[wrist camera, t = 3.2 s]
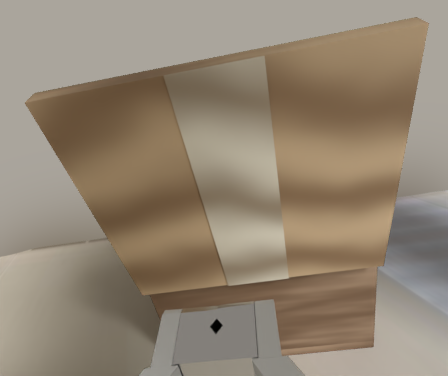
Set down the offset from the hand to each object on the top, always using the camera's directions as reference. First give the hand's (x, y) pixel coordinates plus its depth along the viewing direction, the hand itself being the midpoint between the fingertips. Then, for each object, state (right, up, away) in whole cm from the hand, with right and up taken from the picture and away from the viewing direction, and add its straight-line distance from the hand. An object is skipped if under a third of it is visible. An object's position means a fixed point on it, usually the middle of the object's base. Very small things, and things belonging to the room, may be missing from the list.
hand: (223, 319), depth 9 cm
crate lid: (+1, +3, +14) cm, 14 cm away
